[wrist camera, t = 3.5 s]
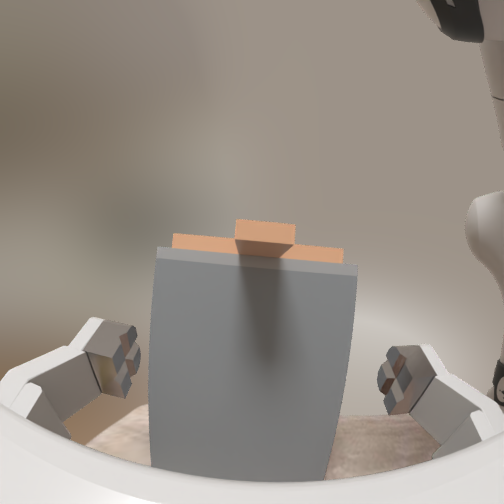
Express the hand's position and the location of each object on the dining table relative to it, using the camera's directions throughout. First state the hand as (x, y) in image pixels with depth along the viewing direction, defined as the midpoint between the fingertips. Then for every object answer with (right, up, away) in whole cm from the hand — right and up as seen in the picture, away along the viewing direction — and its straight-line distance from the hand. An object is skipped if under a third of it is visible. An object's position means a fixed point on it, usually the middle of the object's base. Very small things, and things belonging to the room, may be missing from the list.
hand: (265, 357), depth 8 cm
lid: (0, +2, +20) cm, 20 cm away
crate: (-2, -24, +21) cm, 32 cm away
